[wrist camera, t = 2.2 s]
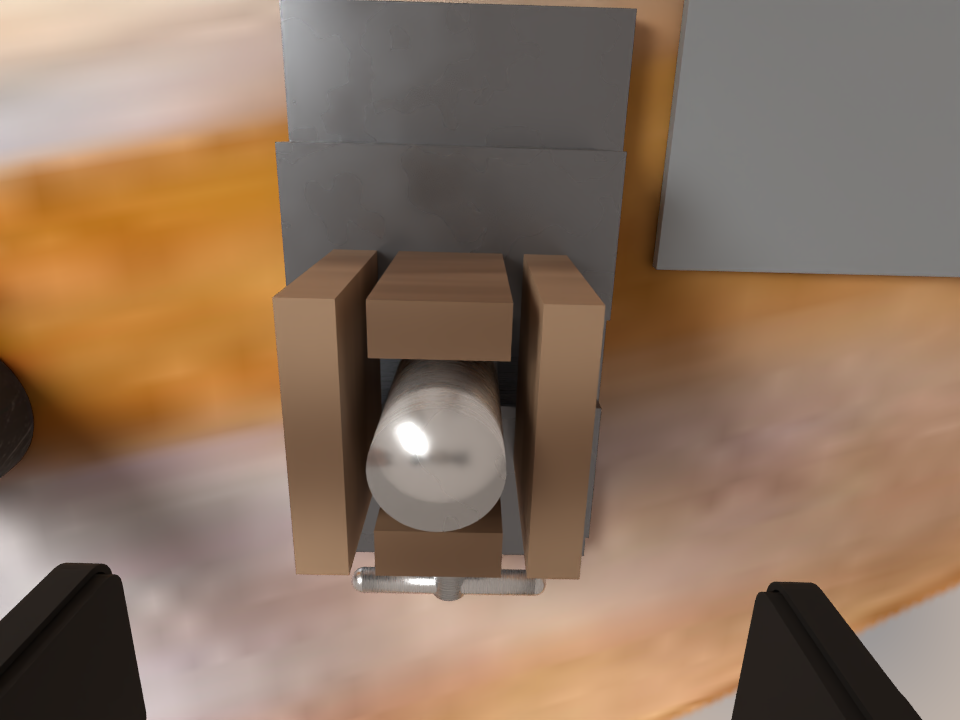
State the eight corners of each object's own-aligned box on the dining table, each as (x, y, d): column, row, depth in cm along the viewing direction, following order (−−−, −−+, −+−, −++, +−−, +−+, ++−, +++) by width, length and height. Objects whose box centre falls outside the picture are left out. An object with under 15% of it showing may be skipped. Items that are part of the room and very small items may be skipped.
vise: (291, 6, 22) (48, -166, 10) (626, 16, 23) (821, -140, 10) (325, 531, 30) (213, 825, 17) (578, 536, 30) (654, 831, 17)
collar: (333, 249, 19) (272, 297, 13) (566, 255, 19) (605, 305, 13) (344, 457, 21) (295, 574, 15) (551, 461, 21) (579, 579, 16)
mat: (711, -226, 20) (717, -236, 20) (1198, -208, 20) (1219, -218, 20) (652, 266, 26) (656, 269, 25) (1039, 276, 26) (1052, 279, 25)
